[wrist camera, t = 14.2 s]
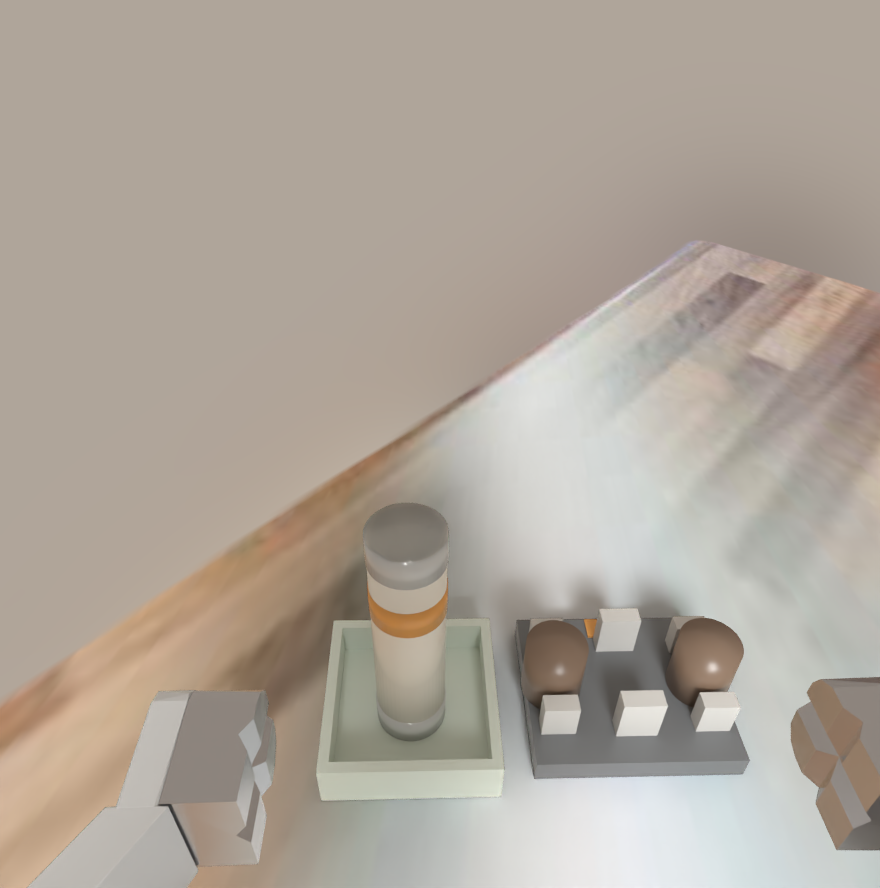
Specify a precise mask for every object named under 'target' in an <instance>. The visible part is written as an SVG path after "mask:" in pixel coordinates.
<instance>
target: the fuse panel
mask: <svg viewBox="0 0 880 888" xmlns="http://www.w3.org/2000/svg"><path fill="white" fill-rule="evenodd" d="M695 618H705V617H704V616H673V617H672V618H640V615H639V612H638V609H637V608H628V609H599V613H598V618H597V619H562V618H541V619H531V620H517V623H516V631H515V637H516V644H517V652H518V659H519V667H520V674H521V677H522V669H523V661H524V654H525V646H526V639H527V635H528V633H529V631H530V630H531V629H532V628H533V627H534V626H535V625H537V624H539V623H541V622H544V621H548V620H558V621H563V622H566V623H569V624H571V625H573V626H575V627H576V628H577V629H579V630H580V631H581V632H582V634H583V635H584V636H585V638H586V640H587V642H588V646H589V653H588V658H587V662H586V667H585V671H584V676H583V680H582V685H581V689H580V694H579V697H578V695H543V697H542V703H541V709H539V708H537V707H535V706H534V705H532V704H531V703H530V702H529V701H528V700H527V699H526V697H525V696H524V694H523V697H524V704H525V712H526V719H527V727H528V734H529V742H530V749H531V757H532V764H533V772H534V779H537V778H585V777H634V776H682V775H730V774H743V772H744V771H745V769H746V767H747V765H748V763H749V761H750V760H749V757H748V755H747V752H746V750H745V747H744V744H743V742H742V739H741V737H740V734H739V732H738V729H737V726H736V724H735V719H736V717H737V714H738V712H739V710H740V708H741V707H740V705H739V702H738V700H737V697H736V695H735V692H700V693H699V696H698V698H697V700H696V703H695V705H694V708H693V707H690V706H688V705H686V704H684V703H682V702H681V701H679V700H678V699H677V698H676V697H675V696H674V695H673V694H672V693H671V691H670V690H669V688H668V686H667V683H666V678H665V675H666V670H667V667H668V664H669V661H670V658H671V655H672V653H673V650H674V647H675V644H676V641H677V638H678V635H679V632H680V629H681V627H682V626H683V625H684V624H685V623H686V622H687V621H689V620H692V619H695Z"/></svg>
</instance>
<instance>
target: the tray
mask: <svg viewBox="0 0 880 888" xmlns="http://www.w3.org/2000/svg"><path fill="white" fill-rule="evenodd" d="M445 690H446V698H445V716H444V719H443V722H442V724H441V726H440V727H439V728H438V729H437V731H436V732H434V733H433V734H432V735H430V736H429V737H427V738H425V739H422V740H418V741H402V740H399V739H396V738H394V737H392V736H391V735H389V734H388V733H387V732H386V731H385V730H384V729H383V727H382V726H381V724H380V722H379V719H378V713H377V701H376V678H375V665H374V653H373V641H372V628H371V620H338V621H334V623H333V632H332V640H331V649H330V657H329V666H328V674H327V683H326V691H325V700H324V708H323V717H322V725H321V734H320V743H319V751H318V760H317V768H316V776H317V782H318V787H319V792H320V797H321V801H335V800H382V799H429V798H476V797H501V794H502V786H503V778H504V770H505V769H504V759H503V749H502V739H501V729H500V719H499V709H498V699H497V690H496V680H495V670H494V660H493V650H492V640H491V630H490V620H489V618H471V619H446V657H445Z"/></svg>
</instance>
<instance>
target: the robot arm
mask: <svg viewBox="0 0 880 888" xmlns="http://www.w3.org/2000/svg"><path fill="white" fill-rule="evenodd" d="M807 694H808V696H809V698H810V700H811V702H809V703H808V704H806V705H804V706H803V707H801V708H799V709H798V710H797V711H796V713H795V715H794V718H793V720H792V722H791V743H792V747H793V751H794V755H795V757H796V760H797V762H798V765H799V767H800V769H801V772H802V773H803V774H804V775H805V776H806V777H808V778H809V779H810V780H811V781H812V782H813V783H814V784H816V785H817V786H818V787H819V790H818V794H817V799H816V805H817V808H818V810H819V812H820V814H821V816H822V819H823V821H824V823H825V825H826V828H827V830H828V832H829V834H830V836H831V839H832V841H833V843H834V845H835V848H836V850H880V677H870V678H843V679H820V680H818V681H815V682H813V683H812V685H811V686H810V688H809V690H808V691H807ZM268 704H269V702H268V698H267V695H266V692H265V690H224V691H196V690H185V691H159V692H158V693H157V695H156V696H155V698H154V699H153V701H152V702H151V704H150V707H149V710H148V713H147V716H146V719H145V722H144V725H143V728H142V731H141V734H140V737H139V740H138V743H137V746H136V749H135V751H134V754H133V757H132V760H131V763H130V766H129V769H128V772H127V775H126V778H125V781H124V784H123V787H122V790H121V793H120V796H119V799H118V802H117V805H116V807H105V808H104V809H103V810H102V811H101V812H100V813H99V814H98V815H97V816H96V817H95V818H94V819H93V820H92V821H91V822H90V823H89V824H88V825H87V826H86V827H85V828H84V829H83V830H82V832H81V833H80V834H79V835H78V836H77V837H76V838H75V839H74V840H73V841H72V842H71V843H70V844H69V845H68V846H67V847H66V848H65V849H64V850H63V851H62V852H61V853H60V854H59V855H58V856H57V857H56V858H55V859H54V860H53V861H52V862H51V863H50V864H49V865H48V866H47V867H46V869H45V870H44V871H43V872H42V873H41V874H40V875H39V876H38V877H37V878H36V879H35V880H34V881H33V882H32V883H31V884H30V885H29V886H28V887H27V888H187V886H188V885H189V884H190V882H191V881H192V879H193V878H194V877H195V875H196V874H197V872H198V869H197V867H210V866H229V865H248V864H258V863H259V857H260V851H261V845H262V839H263V834H264V828H265V822H266V816H267V815H266V811H265V808H264V804H263V801H262V797H261V796H262V795H263V794H264V793H265V791H266V790H267V789H268V788H269V787H270V786H271V784H272V780H273V773H274V767H275V754H276V734H275V726H274V722H273V719H271V718H270V717H268V716H267V710H268Z"/></svg>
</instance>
